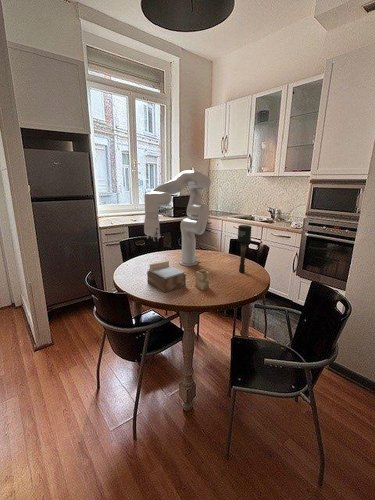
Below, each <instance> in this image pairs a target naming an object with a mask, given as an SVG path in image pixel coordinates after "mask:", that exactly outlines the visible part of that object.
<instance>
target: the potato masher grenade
mask: <svg viewBox="0 0 375 500" xmlns="http://www.w3.org/2000/svg"><path fill="white" fill-rule="evenodd" d="M252 229H253V228H252V226H251V225H249V224H240V225H238V229H237V238H236V241H238V242H240V259H239V261H240V262H239V265H238V268H239V269H238V271H239V273H240V274H243V273H245V266H246V265H245V263H246V262H245V260H246V259H245V258H246V250H247V243H249V242H251V241H252Z"/></svg>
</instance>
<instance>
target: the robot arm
mask: <svg viewBox="0 0 375 500" xmlns="http://www.w3.org/2000/svg"><path fill="white" fill-rule="evenodd" d="M211 184H212V181H211V178H210V177H209V176H208V175H206V174H204V173H202V172H201V171H199V170H183V171H181V172H179V173H178V174H177V175H176V176H175V177H174V178H172V179H171V180H169V181H167V182H165V183H162V184H160V185H158V186H156V187H155V188H153V189H152V190H151V191H149V192H146V193H144V197H143V198H144V221H143V222H144V223H143V233H144V234H145V236H146V241H147V243H146V245H147V247H151V246H152V248H153V249H158V248H159V239H160V238H161V230H160V229H161V228H160V227H161V226H160V220H159V212H160V211H159V206H163V207H164V206H168V205H169V204H170V203H171V201H172V197H171V195H172V196H173V195H176V194H179V193H180V192H181V191H183V190H184V189H185V188H186V187H187V188H188V191H189V200H188V204H187V207H186V215H187V217H190V218H184V219H182V220H181V221H180V226H179V228H180V232H181V260H180V261H179V265H181V266H184V267H193V266H197V264H198V261H197V260H200V259H201V256H199V255H198V256H196V243H197V242H196V241H197V240H196V235H202V234H203V233H204V232H205V231H206V228H207V223H208V220H209V216H210V208H209V206H208V204H205V203H202V202H203V194H202V192H201V190H208V189H209V188H210V186H211ZM195 218H196V219H195Z"/></svg>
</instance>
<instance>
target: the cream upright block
mask: <svg viewBox="0 0 375 500" xmlns="http://www.w3.org/2000/svg"><path fill="white" fill-rule="evenodd" d="M209 279H210V271H207V270H206V269H204V268H203V269H202V268H201V269H199V270H197V271H195V288H197V289H199V290H201V291H203V290H206V289H208V288H209V283H210V282H209V281H210V280H209Z"/></svg>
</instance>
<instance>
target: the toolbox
mask: <svg viewBox="0 0 375 500" xmlns="http://www.w3.org/2000/svg"><path fill="white" fill-rule="evenodd" d="M146 273H147V274H146V277H147V284H149V285H151V286H152V287H153V288H156V289H157V290H159V291H161V292H162V293H164V294H166V293H169V292H172V291H174V290H178V289H181V288H183V287H186V282H187V281H186V279H187V278H186V277H187V276H186V275H187V274H186V273H184V274H182V275H179V276H175V277H172V278H168V279H164V278H162V277H160V276H158V275H156V274H154V273H152V272H150V271H148V270H147V272H146Z"/></svg>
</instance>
